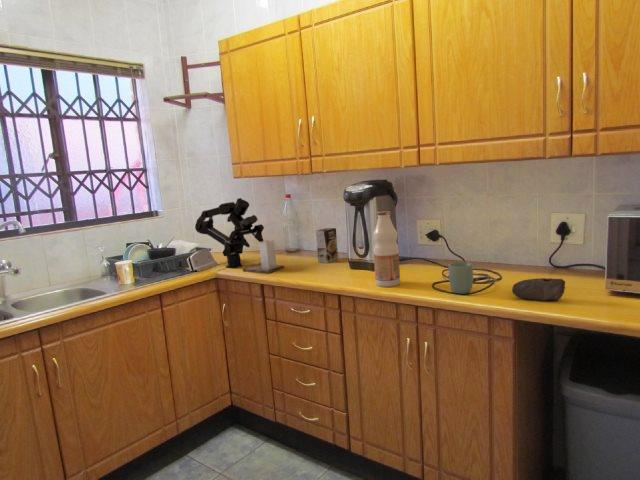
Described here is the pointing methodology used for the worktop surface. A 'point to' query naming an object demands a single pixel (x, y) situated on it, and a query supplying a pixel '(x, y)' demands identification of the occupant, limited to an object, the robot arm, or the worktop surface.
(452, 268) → the cup
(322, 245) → the coffee box
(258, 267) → the plate
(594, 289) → the worktop surface
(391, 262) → the fruit juice
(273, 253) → the aluminium block
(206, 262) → the grey metal block
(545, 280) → the perforated stone tool
